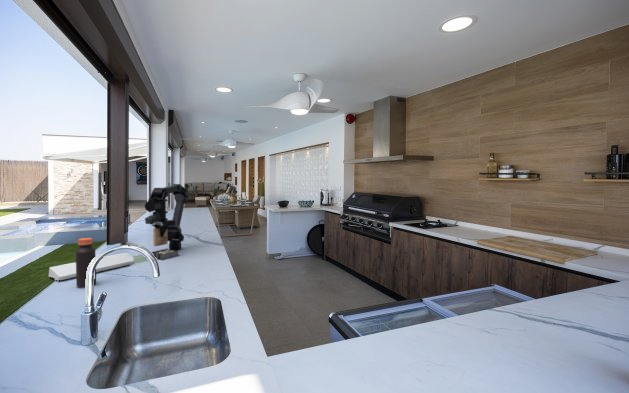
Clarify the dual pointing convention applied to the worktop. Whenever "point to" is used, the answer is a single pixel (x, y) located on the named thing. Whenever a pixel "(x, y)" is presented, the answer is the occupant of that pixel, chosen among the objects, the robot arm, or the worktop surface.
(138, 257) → the sage stand
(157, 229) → the walnut sheet
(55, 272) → the decorative molding
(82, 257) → the bottle
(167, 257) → the offcut rack
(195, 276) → the worktop surface
